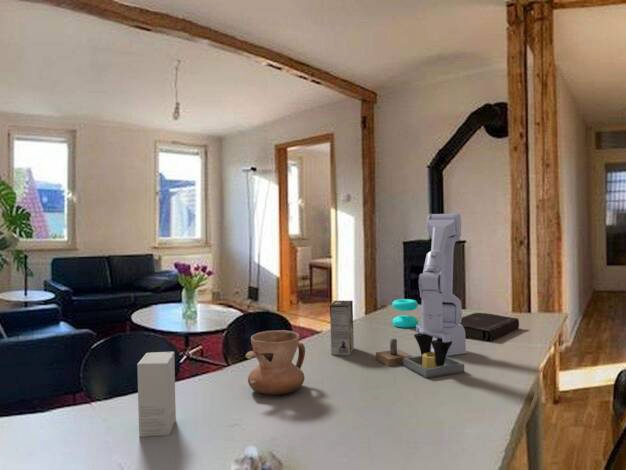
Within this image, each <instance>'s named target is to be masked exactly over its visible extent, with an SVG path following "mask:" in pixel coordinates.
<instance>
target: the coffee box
mask: <svg viewBox="0 0 626 470" xmlns="http://www.w3.org/2000/svg"><path fill="white" fill-rule="evenodd" d="M353 303H354V302H353V300H334V301H333V302H332V303H331V304H330V305H329V312H330V313H329V315H330V317H329V319H330V323H329V324H330V349H331V351H330V352H331V355H332V356H351V355H352V353H353V350H354V348H355V346H354V344H355V343H354V342H355V341H354V340H355V339H354V338H355V337H354V311H353V310H354V306H353V305H354V304H353Z"/></svg>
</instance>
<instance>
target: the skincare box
mask: <svg viewBox="0 0 626 470" xmlns="http://www.w3.org/2000/svg"><path fill="white" fill-rule="evenodd" d="M175 362H176V361H175V351H158V352H157V351H155V352H154V351H152V352H146V353H145V354H144V355H143V357H142V358H141V359H140V360H139V361H138V363H137V364H136V367H137V368H136V369H137V400H138V401H137V403H138V404H137V405H138V406H137V407H138V437H139V438H146V437H147V438H149V437H164V436H170V434H171V432H172V430H173V427H174V425H175V422H176V420H177V415H176V413H177V412H176V406H177V405H176V376H175V375H176V371H175V369H176V368H175V367H176V365H175Z"/></svg>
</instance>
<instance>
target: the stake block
mask: <svg viewBox="0 0 626 470" xmlns="http://www.w3.org/2000/svg"><path fill="white" fill-rule="evenodd" d="M389 340H390V341H389V349H390V350H385V351H384V350H383V351H376V352H375V359H376V360H377V361H379V362H380V363H382V364H384V365H386V366H388V367H391V366H399V365H403V358H407V357H413V355H412V354H409V353H407V352H404V351H403V350H401V349H398V341H397V340H398V339H397V338H390V339H389Z"/></svg>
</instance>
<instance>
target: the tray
mask: <svg viewBox="0 0 626 470" xmlns="http://www.w3.org/2000/svg"><path fill="white" fill-rule="evenodd" d="M402 366H403V367H404V368H406V369H408V370H410V371H412V372H413V373H415V374H417V375H418V376H420V377H422V378H424V379H433V378H439V377H446V376H451V375H452V376H453V375H458V374H459V375H460V374H464V373H465V364H464V363H463V362H460V361H458V360H457V359H456V360H455V358H454V359H453V358H451V357H450V356H446V358H445V363H444V365H443V366H442V367H435V368H428V369H427V368H425V367H423V366H422V355H416V356H415V355H414V356H412V357H407V358H403V364H402Z"/></svg>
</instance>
